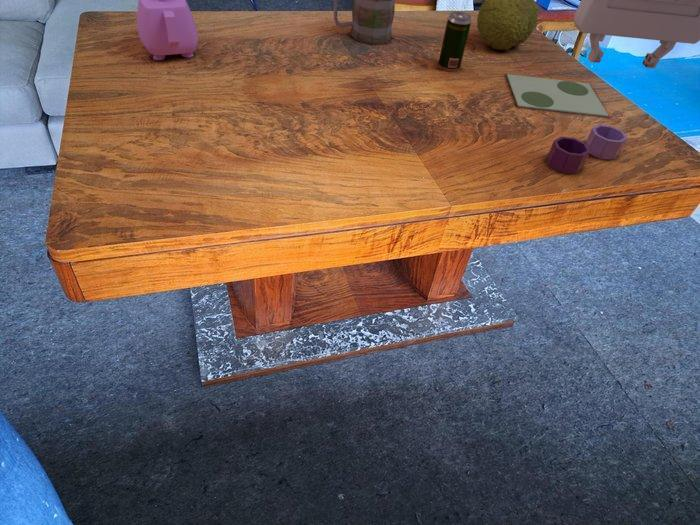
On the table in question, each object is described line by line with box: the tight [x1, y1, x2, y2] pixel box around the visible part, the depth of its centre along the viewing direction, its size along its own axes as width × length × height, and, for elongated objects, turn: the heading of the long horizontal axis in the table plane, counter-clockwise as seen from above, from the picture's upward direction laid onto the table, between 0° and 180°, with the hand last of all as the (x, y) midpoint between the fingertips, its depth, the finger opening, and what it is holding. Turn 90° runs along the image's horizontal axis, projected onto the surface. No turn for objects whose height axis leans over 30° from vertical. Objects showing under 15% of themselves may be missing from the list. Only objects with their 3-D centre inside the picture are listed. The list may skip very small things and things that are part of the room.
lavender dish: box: [585, 124, 628, 161], centre depth 99 cm, size 6×6×4 cm
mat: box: [506, 73, 610, 118], centre depth 117 cm, size 20×16×1 cm
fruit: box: [476, 0, 540, 51], centre depth 131 cm, size 16×14×15 cm
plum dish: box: [546, 136, 590, 175], centre depth 94 cm, size 6×6×4 cm
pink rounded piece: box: [136, 0, 199, 61], centre depth 112 cm, size 20×12×13 cm, turn 24°
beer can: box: [438, 10, 472, 73], centre depth 119 cm, size 5×5×12 cm
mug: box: [333, 0, 396, 45], centre depth 129 cm, size 16×11×12 cm
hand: (620, 63), depth 83 cm, fingers open, 8 cm apart
